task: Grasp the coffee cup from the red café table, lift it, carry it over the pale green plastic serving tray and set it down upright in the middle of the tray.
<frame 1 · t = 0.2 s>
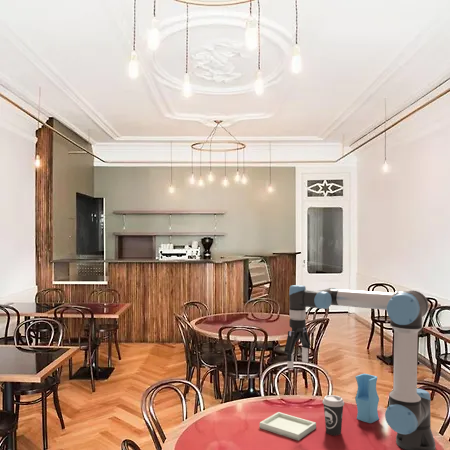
hand: (297, 365, 208), 27 cm above the table, fingers open, 13 cm apart
tray: (287, 428, 204), on the table
vase: (367, 419, 214), on the table
coffee cup: (333, 432, 200), on the table
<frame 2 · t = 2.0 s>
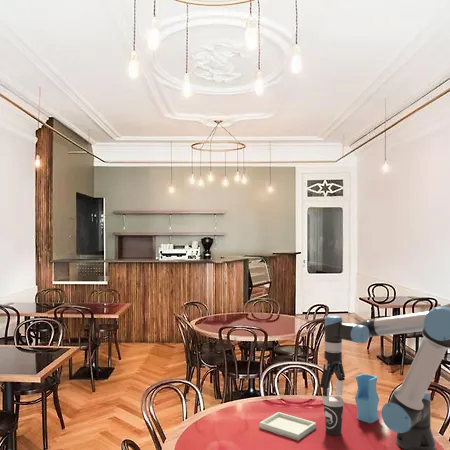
hand: (332, 398, 200), 15 cm above the table, fingers open, 13 cm apart
nothing on the table moved.
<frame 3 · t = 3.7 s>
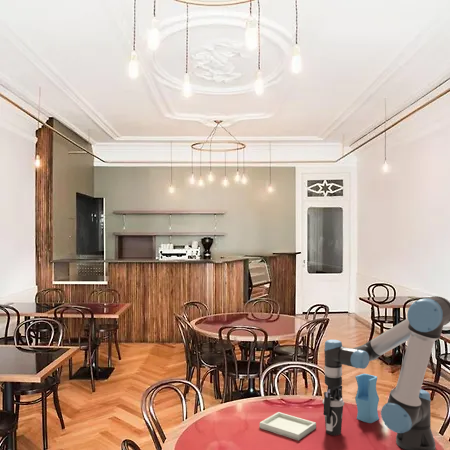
hand: (333, 427, 200), 2 cm above the table, fingers closed on coffee cup, 7 cm apart
coffee cup: (333, 432, 200), on the table, touching gripper
everything else where it was.
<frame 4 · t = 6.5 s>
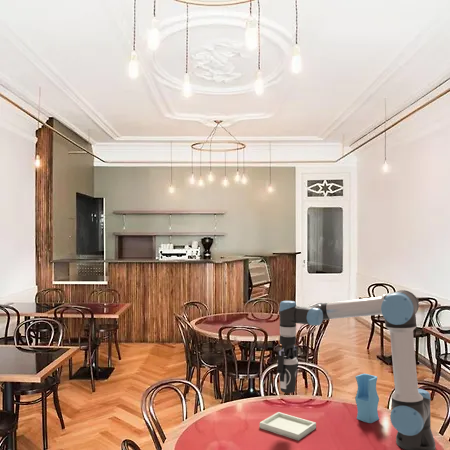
hand: (287, 385, 204), 19 cm above the table, fingers closed on coffee cup, 7 cm apart
coffee cup: (287, 391, 204), point 17 cm above the table, touching gripper
everything else where it was.
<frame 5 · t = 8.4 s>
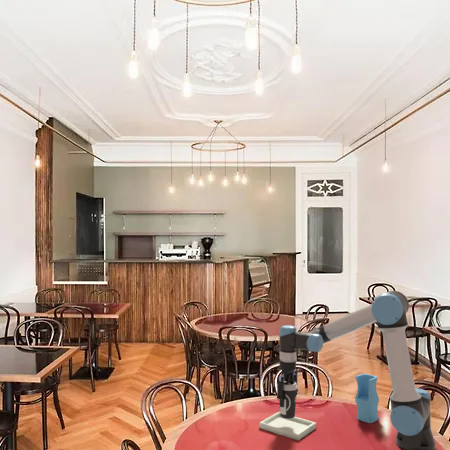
hand: (287, 411, 204), 8 cm above the table, fingers closed on coffee cup, 7 cm apart
coffee cup: (287, 416, 204), point 5 cm above the table, touching gripper
everything else where it was.
when the fingers open (4 cm above the table, at t = 9.6 s): coffee cup stays where it is, resting on tray.
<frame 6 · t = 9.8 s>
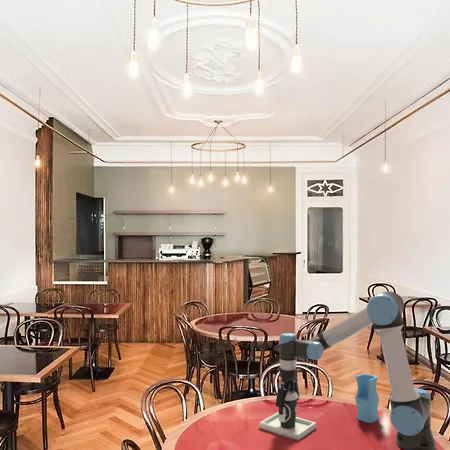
hand: (287, 417, 204), 5 cm above the table, fingers open, 9 cm apart
coffee cup: (287, 426, 204), point 1 cm above the table, touching tray
everything else where it was.
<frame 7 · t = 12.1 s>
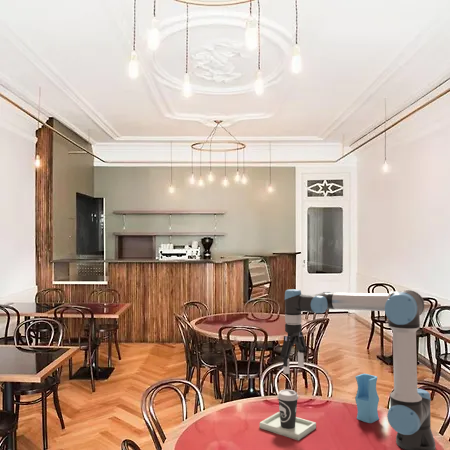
hand: (293, 370, 206), 26 cm above the table, fingers open, 13 cm apart
nothing on the table moved.
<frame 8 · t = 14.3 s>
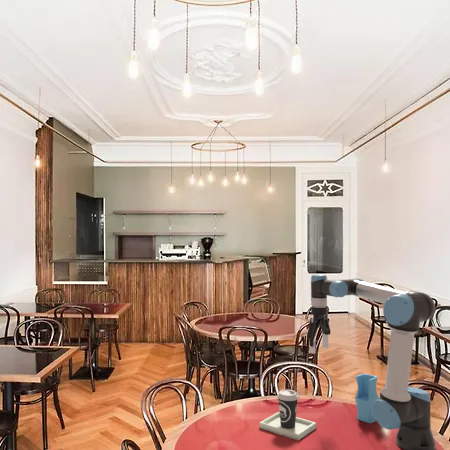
hand: (319, 350, 218), 32 cm above the table, fingers open, 13 cm apart
nothing on the table moved.
at the end: coffee cup inside the target area on the tray (0.0 cm from its centre), point 0.8 cm above the tray's base; coffee cup tilted 0°; the gripper is holding nothing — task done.
